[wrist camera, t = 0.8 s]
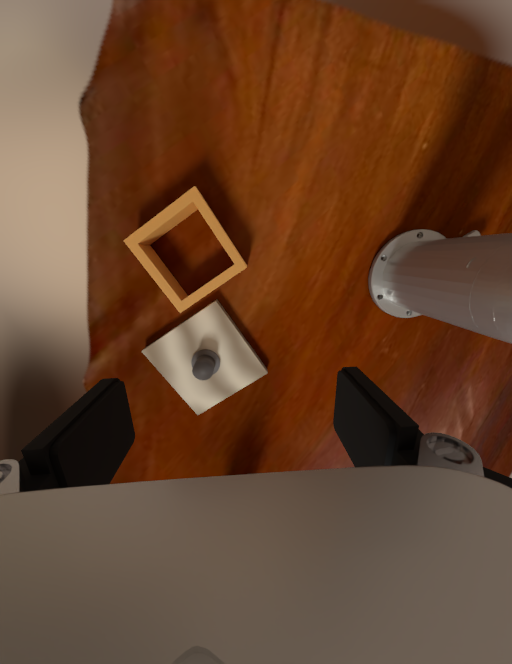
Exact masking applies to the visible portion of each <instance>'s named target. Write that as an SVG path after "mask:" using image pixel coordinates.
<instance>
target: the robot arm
mask: <svg viewBox="0 0 512 664" xmlns="http://www.w3.org/2000/svg"><path fill="white" fill-rule="evenodd" d="M381 257H382V259H381ZM369 290H370V294H371V297H372V299H373V301H374V302H375V304H376V305H377V306H378V307H379V308H380V309H381V310H382V311H384V312H386V313H388V314H390V315H393V316H396V317H401V318H411V317H415V316H419V315H422V314H423V315H426V316H429V317H432V318H435V319H438V320H441V321H444V322H447V323H450V324H453V325H456V326H459V327H462V328H465V329H468V330H471V331H474V332H477V333H480V334H483V335H486V336H489V337H492V338H496V339H499V340H502V341H505V342H508V343H512V233H507V234H495V235H484V236H480V233H479V232H478V231H477V230H473V231H471V232H469V233H468V234H466V235H464V236H463V237H459V238H446V237H445V236H443V235H442V234H440V233H438V232H435V231H432V230H426V229H419V230H412V231H407V232H404V233H402V234H399V235H397V236H396V237H394V238H393V239H391V240H390V241H389V242H387V243H386V244H385V245H384V246H383V247H382V248H381V250H380V251H379V252H378V253H377V255H376V257H375V259H374V261H373V263H372V266H371V268H370V273H369ZM377 296H378V297H377ZM333 423H334V428H335V431H336V433H337V435H338V436H339V438H340V440H341V442H342V444H343V446H344V447H345V449H346V451H347V453H348V455H349V457H350V458H351V460H352V462H353V464H354V466H355V467H352V468H336V469H321V470H305V471H289V472H274V473H259V474H244V475H229V476H215V477H201V478H187V479H173V480H159V481H145V482H132V483H119V484H110V482H111V480H112V478H113V477H114V475H115V473H116V472H117V470H118V468H119V466H120V465H121V463H122V461H123V459H124V458H125V456H126V454H127V453H128V451H129V449H130V447H131V446H132V444H133V442H134V439H135V432H134V427H133V422H132V418H131V413H130V408H129V403H128V399H127V394H126V389H125V385H124V382H122V381H120V380H119V379H118V378H111V379H102V380H100V381H99V382H98V383H97V384H96V385H95V386H94V387H93V388H91V389H90V390H89V391H88V392H87V393H86V394H85V395H83V396H82V397H81V398H80V399H79V400H78V401H77V402H75V403H74V404H73V405H72V406H71V407H70V408H69V409H67V410H66V411H65V412H64V413H63V414H62V415H61V416H60V417H59V418H57V419H56V420H55V421H54V422H53V423H52V424H50V426H48V427H47V428H46V429H45V430H44V431H42V432H41V433H40V434H39V435H38V436H37V437H36V438H35V439H33V440H32V441H31V442H30V443H29V444H28V445H27V446H25V447H24V448H23V449H22V450H21V451H22V454H23V456H24V458H23V459H22V460H20V461H19V462H17V461H15V460H1V461H0V664H512V478H509V477H507V476H504V475H502V474H499V473H497V472H494V471H492V470H489V469H487V468H484V467H483V466H482V461H481V458H480V456H479V454H478V453H477V452H476V451H475V450H474V449H473V448H472V447H470V446H469V445H468V444H466V443H465V442H463V441H461V440H459V439H457V438H455V437H452V436H450V435H446V434H442V433H426V434H425V435H424V434H423V433H422V432H421V431H420V430H419V429H418V428H419V425H418V424H417V423H415V422H414V421H413V420H412V419H411V418H410V417H409V416H408V415H407V414H406V413H405V412H404V411H403V410H402V409H401V408H400V407H399V406H398V405H396V404H395V403H394V402H393V401H392V400H391V399H390V398H389V397H388V396H387V395H386V394H385V393H384V392H383V391H382V390H381V389H380V388H379V387H377V386H376V385H375V384H374V383H373V382H372V381H371V380H370V379H369V378H368V377H367V376H366V375H365V374H364V373H363V372H362V371H361V370H360V369H358V368H357V367H343V368H342V370H341V371H338V375H337V386H336V398H335V409H334V421H333Z"/></svg>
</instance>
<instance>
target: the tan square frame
mask: <svg viewBox="0 0 512 664" xmlns="http://www.w3.org/2000/svg"><path fill="white" fill-rule="evenodd" d="M197 209H198V210H199V211H200V213H201V214H202V216H203V217H204V219H205V220H206V222H207V223H208V225H209V226H210V228H211V229H212V231H213V232H214V234H215V236H216V237H217V239H218V240H219V242H220V243H221V245H222V246H223V248H224V249H225V251H226V252H227V254H228V255H229V257H230V258H231V260H232V261H233V263H234V265H233V266H231V267H230V268H228V269H227V270H225V271H224V272H223V273H221V274H220V275H218V276H217V277H215V278H214V279H212V280H211V281H210V282H208V283H207V284H205V285H204V286H202V287H201V288H200V289H198V290H197V291H195V292H194V293H192V294H191V295H189V296H188V295H187V294H186V292H185V291H184V290H183V288H182V287H181V286H180V284H179V283H178V282H177V280H176V279H175V278H174V276H173V275H172V274H171V272H170V271H169V270H168V268H167V267H166V266H165V264H164V263H163V262H162V260H161V259H160V258H159V256H158V255H157V254H156V252H155V251H154V250H153V248H152V247H151V246H150V245H151V244H152V243H153V242H155V241H156V240H157V239H159V238H160V237H161V236H163V235H164V234H165V233H167V232H168V231H169V230H171V229H172V228H173V227H175V226H176V225H177V224H179V223H180V222H181V221H183V220H184V219H185V218H187V217H188V216H189V215H191V214H192V213H193V212H195V211H196V210H197ZM124 242H125V243H126V245H127V246H128V247H129V248H130V250H131V251H132V252H133V254H134V255H135V256H136V257H137V259H138V260H139V261H140V263H141V264H142V265H143V266H144V268H145V269H146V270H147V271H148V273H149V274H150V275H151V277H152V278H153V279H154V280H155V282H156V283H157V284H158V286H159V287H160V288H161V289H162V291H163V292H164V293H165V295H166V296H167V297H168V298H169V300H170V301H171V302H172V304H173V305H174V306H175V307H176V309H177V310H178V311H179V312H180V313H181V312H183V311H184V310H185V309H187V308H188V307H190V306H191V305H193V304H194V303H196V302H197V301H199V300H200V299H201V298H203V297H204V296H206V295H207V294H209V293H210V292H212V291H213V290H215V289H216V288H218V287H219V286H220V285H222V284H223V283H225V282H226V281H228V280H229V279H231V278H232V277H234V276H235V275H236V274H238V273H239V272H241V271H242V270H244V269H245V268H247V264H246V263H245V261H244V260H243V258H242V257H241V255H240V254H239V252H238V250H237V249H236V247H235V246H234V244H233V243H232V241H231V240H230V238H229V236H228V235H227V233H226V232H225V230H224V229H223V227H222V226H221V224H220V223H219V221H218V219H217V218H216V216H215V215H214V213H213V212H212V210H211V209H210V207H209V205H208V204H207V202H206V201H205V199H204V198H203V196H202V195H201V193H200V192H199V191H198V189H197V188H196V187H195V186H194V187H193V188H191V189H190V190H189V191H187V192H186V193H185V194H183V195H182V196H181V197H180V198H178V199H177V200H176V201H174V202H173V203H172V204H170V205H169V206H168V207H167V208H165V209H164V210H163V211H161V212H160V213H159V214H157V215H156V216H155V217H154V218H152V219H151V220H150V221H148V222H147V223H146V224H144V225H143V226H142V227H141V228H139V229H138V230H137V231H135V232H134V233H133V234H132V235H130V236H129V237H128V238H126V239H125V240H124Z"/></svg>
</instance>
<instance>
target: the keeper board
mask: <svg viewBox="0 0 512 664" xmlns="http://www.w3.org/2000/svg"><path fill="white" fill-rule="evenodd" d="M142 353H143V354H144V355H145V356H146V357H147V358H148V359H149V361H150V362H151V363H152V364H153V365H154V366H155V367H156V368H157V370H158V371H159V372H160V373H161V374H162V375H163V376H164V378H165V379H166V380H167V381H168V382H169V383H170V384H171V386H172V387H173V388H174V389H175V390H176V391H177V392H178V393H179V395H180V396H181V397H182V398H183V399H184V400H185V401H186V403H187V404H188V405H189V406H190V407H191V408H192V409H193V411H194V412H195V413H196V414H197V415H199V414H201V413H202V412H204V411H206V410H207V409H209V408H211V407H212V406H214V405H216V404H217V403H219V402H221V401H222V400H224V399H226V398H227V397H229V396H231V395H232V394H234V393H235V392H237V391H239V390H240V389H242V388H244V387H245V386H247V385H249V384H250V383H252V382H254V381H255V380H257V379H259V378H260V377H262V376H264V375H265V374H267V373H268V372H267V368H266V367H265V365H264V364H263V362H262V361H261V360H260V358H259V357H258V355H257V354H256V353H255V351H254V350H253V349H252V347H251V346H250V344H249V343H248V342H247V340H246V339H245V337H244V336H243V335H242V333H241V332H240V330H239V329H238V328H237V326H236V325H235V323H234V322H233V321H232V319H231V318H230V316H229V315H228V314H227V312H226V311H225V309H224V308H223V307H222V305H221V304H220V302H219V301H218V300H217V299H216V300H215V301H214V302H212V303H211V304H209V305H208V306H206V307H205V308H203V309H202V310H200V311H199V312H197V313H196V314H194V315H193V316H191V317H190V318H188V319H187V320H186V321H184V322H183V323H181V324H180V325H178V326H177V327H175V328H174V329H172V330H171V331H169V332H168V333H166V334H165V335H163V336H162V337H160V338H159V339H157V340H156V341H155V342H153V343H152V344H150V345H149V346H147V347H146V348H144V349H143V350H142Z"/></svg>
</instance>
